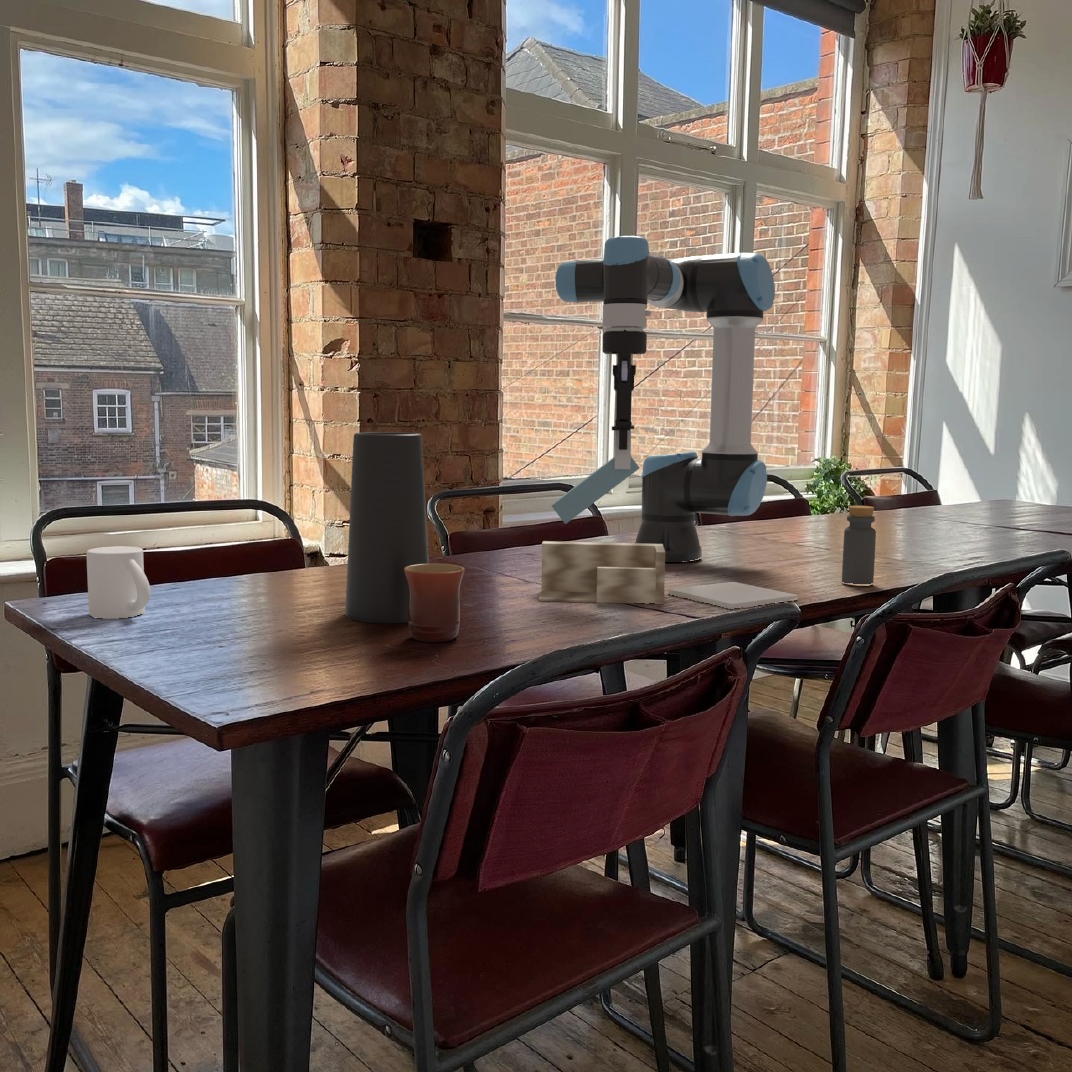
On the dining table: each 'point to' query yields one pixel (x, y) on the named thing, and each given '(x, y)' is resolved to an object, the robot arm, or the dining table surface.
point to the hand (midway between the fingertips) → (622, 467)
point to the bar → (591, 489)
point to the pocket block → (603, 572)
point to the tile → (732, 594)
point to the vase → (385, 525)
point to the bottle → (859, 546)
